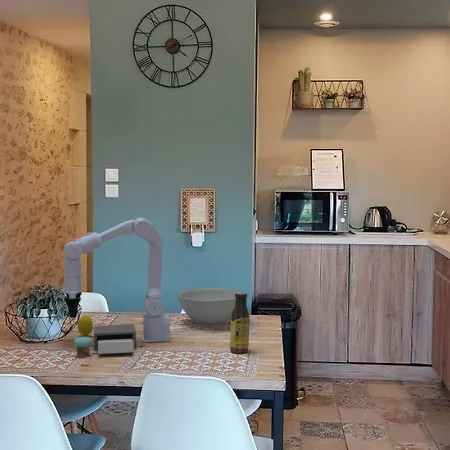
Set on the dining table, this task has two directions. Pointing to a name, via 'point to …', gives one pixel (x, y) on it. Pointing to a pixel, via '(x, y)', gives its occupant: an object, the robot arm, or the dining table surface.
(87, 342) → the teal round puck
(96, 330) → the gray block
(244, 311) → the sauce bottle
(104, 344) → the tray
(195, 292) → the decorative bowl
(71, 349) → the dining table surface
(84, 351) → the walnut block
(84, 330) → the lemon
